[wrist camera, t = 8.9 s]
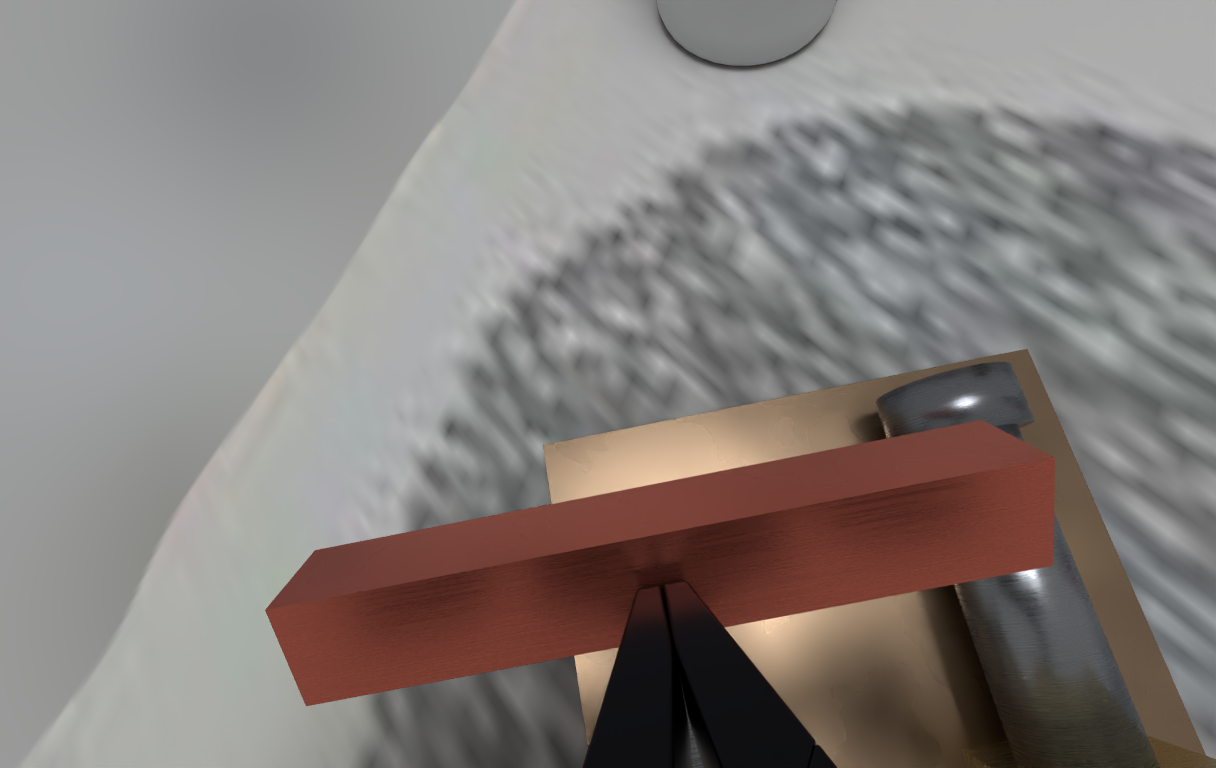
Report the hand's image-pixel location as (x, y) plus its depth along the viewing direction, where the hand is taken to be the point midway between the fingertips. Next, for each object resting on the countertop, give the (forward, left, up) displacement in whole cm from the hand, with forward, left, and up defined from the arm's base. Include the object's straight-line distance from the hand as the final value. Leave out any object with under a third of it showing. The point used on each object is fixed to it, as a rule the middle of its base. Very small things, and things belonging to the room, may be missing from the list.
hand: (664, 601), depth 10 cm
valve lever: (-6, -6, -7) cm, 11 cm away
